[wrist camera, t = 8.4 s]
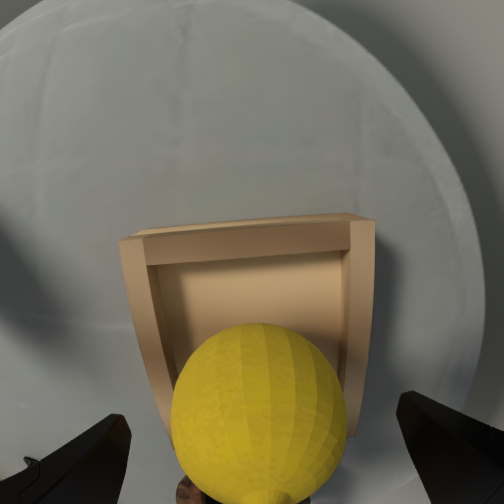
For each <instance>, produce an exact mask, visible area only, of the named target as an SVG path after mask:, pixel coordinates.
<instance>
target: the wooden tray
mask: <svg viewBox="0 0 504 504" xmlns="http://www.w3.org/2000/svg"><path fill="white" fill-rule="evenodd" d="M118 243H119V250H120V256H121V262H122V268H123V274H124V279H125V284H126V290H127V295H128V299H129V304H130V309H131V313H132V318H133V322H134V326H135V330H136V334H137V338H138V342H139V346H140V350H141V354H142V357H143V361H144V365H145V368H146V371H147V375H148V378H149V381H150V385H151V388H152V391H153V394H154V397H155V400H156V403H157V406H158V409H159V412H160V415H161V418H162V421H163V423H164V426H165V429H166V432H167V434H168V437H169V439H170V442H171V445H172V447H173V450H175V448H174V444H173V440H172V435H171V425H170V416H171V406H172V400H173V393H174V389H175V385H176V382H177V379H178V377H179V375H180V373H181V372H182V370H183V368H184V366H185V364H186V363H187V361H188V359H189V358H190V356H191V355H192V354H193V353H194V352H195V351H196V350H197V349H198V348H199V347H200V346H201V345H202V344H203V343H204V342H205V341H206V340H207V339H208V338H210V337H212V336H214V335H215V334H217V333H219V332H221V331H222V330H224V329H226V328H230V327H233V326H237V325H240V324H248V323H267V324H274V325H279V326H281V327H284V328H286V329H289V330H292V331H294V332H297V333H298V334H300V335H301V336H302V337H304V338H305V339H307V340H308V341H309V342H311V343H312V344H313V345H315V346H316V347H317V348H318V349H319V350H320V352H321V353H322V354H323V356H324V357H325V358H326V360H327V361H328V362H329V363H330V365H331V366H332V368H333V369H334V371H335V373H336V375H337V377H338V380H339V383H340V386H341V389H342V393H343V396H344V400H345V404H346V410H347V436H346V438H348V437H352V436H355V435H356V430H357V425H358V420H359V415H360V409H361V403H362V397H363V391H364V384H365V378H366V370H367V362H368V354H369V345H370V335H371V324H372V311H373V294H374V270H375V220H372V219H368V218H364V217H361V216H357V215H353V214H349V213H338V214H321V215H305V216H290V217H276V218H263V219H250V220H238V221H226V222H215V223H204V224H193V225H183V226H173V227H163V228H154V229H145V230H143V231H141V232H138V233H136V234H134V235H131V236H129V237H127V238H124V239H122V240H120V241H118Z"/></svg>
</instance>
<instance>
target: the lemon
mask: <svg viewBox="0 0 504 504" xmlns="http://www.w3.org/2000/svg"><path fill="white" fill-rule="evenodd" d="M170 425H171V435H172V440H173V444H174V448H175V452H176V455H177V458H178V461H179V463H180V465H181V467H182V469H183V470H184V472H185V473H186V475H187V476H188V477H189V478H190V480H191V481H192V482H193V483H194V484H195V485H196V486H197V487H198V488H199V489H200V490H201V491H203V492H204V493H206V494H207V495H209V496H210V497H212V498H213V499H215V500H216V501H218V502H221V503H223V504H296V503H299V502H300V501H302V500H304V499H305V498H307V497H309V496H310V495H312V494H313V493H315V492H316V491H317V490H318V489H319V488H320V487H321V486H322V485H323V484H324V483H325V482H326V481H327V480H328V479H329V478H330V477H331V476H332V474H333V473H334V471H335V470H336V468H337V466H338V464H339V462H340V460H341V458H342V456H343V453H344V449H345V444H346V436H347V410H346V404H345V400H344V396H343V393H342V389H341V386H340V383H339V380H338V377H337V375H336V373H335V371H334V369H333V368H332V366H331V365H330V363H329V362H328V361H327V360H326V358H325V357H324V356H323V354H322V353H321V352H320V350H319V349H318V348H317V347H316V346H315V345H313V344H312V343H311V342H309V341H308V340H307V339H305V338H304V337H302V336H301V335H300V334H298V333H297V332H294V331H292V330H289V329H286V328H284V327H281V326H279V325H274V324H267V323H248V324H240V325H237V326H233V327H230V328H226V329H224V330H222V331H221V332H219V333H217V334H215V335H214V336H212V337H210V338H208V339H207V340H206V341H205V342H204V343H203V344H202V345H201V346H200V347H199V348H198V349H197V350H196V351H195V352H194V353H193V354H192V355H191V356H190V358H189V359H188V361H187V363H186V364H185V366H184V368H183V370H182V372H181V373H180V375H179V377H178V379H177V382H176V385H175V389H174V393H173V400H172V406H171V416H170Z"/></svg>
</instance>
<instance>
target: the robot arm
mask: <svg viewBox="0 0 504 504" xmlns="http://www.w3.org/2000/svg"><path fill="white" fill-rule="evenodd" d="M396 416H397V419H398V422H399V425H400V428H401V431H402V434H403V437H404V440H405V444H406V447H407V449H408V452H409V454H410V457H411V459H412V461H413V463H414V465H415V468H416V470H417V472H418V474H419V476H420V479H421V481H422V483H423V485H424V488H425V490H426V492H427V494H428V497H429V499H430V501H431V504H504V431H501V430H499V429H496V428H494V427H491V426H489V425H487V424H485V423H482V422H480V421H478V420H476V419H473V418H471V417H468V416H467V415H464V414H462V413H460V412H458V411H456V410H453V409H451V408H449V407H447V406H445V405H443V404H441V403H438V402H436V401H434V400H432V399H430V398H428V397H426V396H424V395H422V394H420V393H417V392H415V391H413V390H412V391H408V392H404V393H402V394H401V395H400V399H399V403H398V407H397V411H396ZM131 437H132V434H131V430H130V428H129V426H128V424H127V421H126V419H125V417H124V416H123V415H121V414H110V415H109V416H107V417H106V418H104V419H103V420H101V421H100V422H98V423H97V424H95V425H94V426H92V427H91V428H89V429H88V430H86V431H85V432H83V433H82V434H80V435H79V436H77V437H76V438H74V439H73V440H71V441H70V442H68V443H67V444H65V445H64V446H62V447H61V448H59V449H57V450H56V451H54V452H53V453H51V454H49V455H48V456H46V457H45V458H43V459H41V460H40V461H36V460H33V459H31V458H28V457H26V456H25V457H24V459H23V460H24V461H25V463H26V464H27V465H28V467H27V468H26V469H25V470H23V471H21V472H19V473H17V474H15V475H13V476H11V477H9V478H6V479H4V480H2V481H0V504H117V502H118V498H119V495H120V491H121V487H122V484H123V480H124V477H125V473H126V468H127V461H128V455H129V449H130V443H131Z"/></svg>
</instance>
